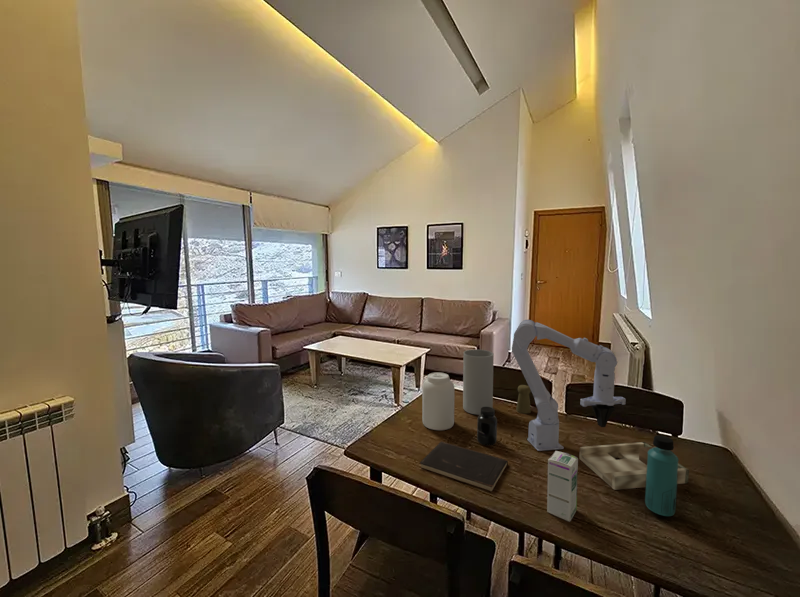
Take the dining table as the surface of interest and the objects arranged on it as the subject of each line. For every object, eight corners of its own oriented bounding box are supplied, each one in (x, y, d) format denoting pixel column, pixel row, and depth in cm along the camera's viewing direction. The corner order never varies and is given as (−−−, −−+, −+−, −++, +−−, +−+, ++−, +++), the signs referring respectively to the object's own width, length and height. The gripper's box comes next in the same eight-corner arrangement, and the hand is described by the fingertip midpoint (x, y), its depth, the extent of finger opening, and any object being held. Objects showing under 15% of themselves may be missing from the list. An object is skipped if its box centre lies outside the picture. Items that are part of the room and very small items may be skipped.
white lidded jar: (416, 424, 141) (415, 375, 139) (434, 414, 151) (434, 368, 148) (442, 434, 133) (442, 382, 131) (460, 422, 142) (460, 374, 140)
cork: (528, 408, 156) (529, 383, 155) (532, 413, 150) (533, 388, 149) (514, 407, 157) (515, 383, 156) (517, 413, 151) (518, 388, 150)
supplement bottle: (475, 444, 126) (475, 411, 125) (478, 435, 132) (479, 404, 131) (495, 447, 123) (496, 414, 122) (497, 438, 130) (498, 406, 128)
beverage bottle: (677, 526, 86) (683, 447, 84) (643, 516, 90) (648, 440, 88) (673, 510, 92) (679, 436, 90) (642, 501, 95) (647, 429, 93)
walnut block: (649, 467, 108) (650, 454, 107) (638, 459, 112) (639, 447, 111) (667, 465, 109) (668, 453, 108) (656, 458, 113) (657, 446, 112)
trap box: (614, 489, 100) (615, 476, 100) (579, 458, 116) (579, 447, 116) (687, 482, 103) (689, 469, 102) (643, 453, 119) (644, 442, 118)
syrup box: (570, 522, 88) (572, 467, 86) (545, 512, 92) (547, 458, 90) (576, 510, 92) (579, 457, 91) (553, 500, 96) (555, 449, 94)
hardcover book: (492, 494, 100) (492, 486, 99) (419, 469, 112) (419, 462, 112) (507, 466, 113) (507, 459, 113) (441, 446, 125) (441, 440, 125)
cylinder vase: (486, 418, 146) (487, 358, 144) (458, 411, 153) (458, 354, 151) (496, 407, 157) (497, 351, 154) (469, 401, 164) (470, 348, 161)
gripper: (590, 391, 111) (588, 432, 113) (633, 389, 113) (631, 430, 114) (577, 383, 118) (575, 422, 120) (617, 381, 120) (615, 420, 121)
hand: (601, 425), depth 117 cm, fingers closed
